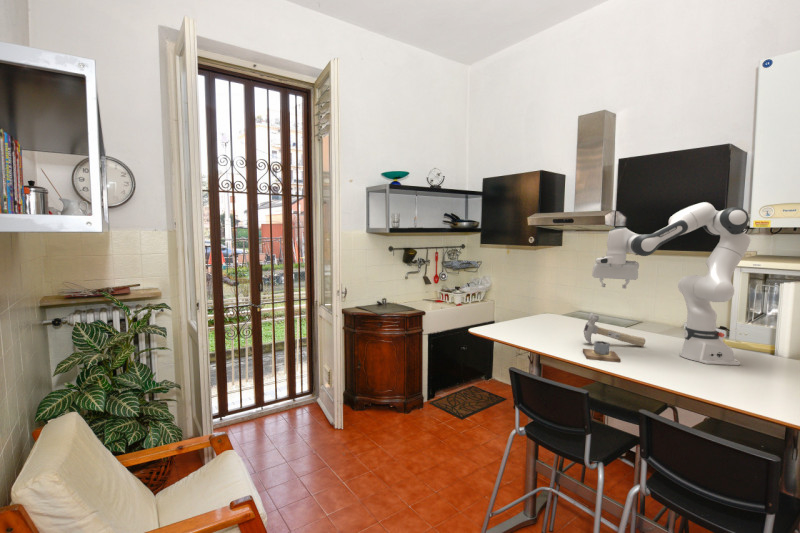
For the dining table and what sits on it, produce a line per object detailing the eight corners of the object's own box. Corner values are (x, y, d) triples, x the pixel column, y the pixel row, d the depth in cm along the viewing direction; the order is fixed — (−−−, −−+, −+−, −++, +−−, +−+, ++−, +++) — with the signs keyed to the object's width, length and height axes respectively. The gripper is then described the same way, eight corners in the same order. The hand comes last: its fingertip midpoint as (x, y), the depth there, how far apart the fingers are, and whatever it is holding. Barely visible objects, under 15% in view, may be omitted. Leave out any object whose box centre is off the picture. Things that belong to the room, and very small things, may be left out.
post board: (614, 354, 196) (615, 341, 195) (620, 362, 184) (621, 348, 184) (582, 351, 199) (583, 338, 199) (586, 358, 188) (587, 345, 187)
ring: (606, 352, 194) (607, 341, 193) (609, 355, 188) (610, 345, 187) (593, 350, 195) (593, 340, 195) (595, 354, 189) (596, 343, 189)
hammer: (645, 327, 212) (588, 312, 213) (649, 329, 208) (592, 314, 209) (635, 355, 214) (579, 340, 215) (640, 358, 209) (583, 343, 211)
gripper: (637, 260, 201) (635, 288, 203) (592, 258, 207) (590, 285, 208) (641, 261, 195) (638, 290, 197) (594, 259, 201) (592, 287, 202)
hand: (613, 287), depth 202 cm, fingers open, 8 cm apart
